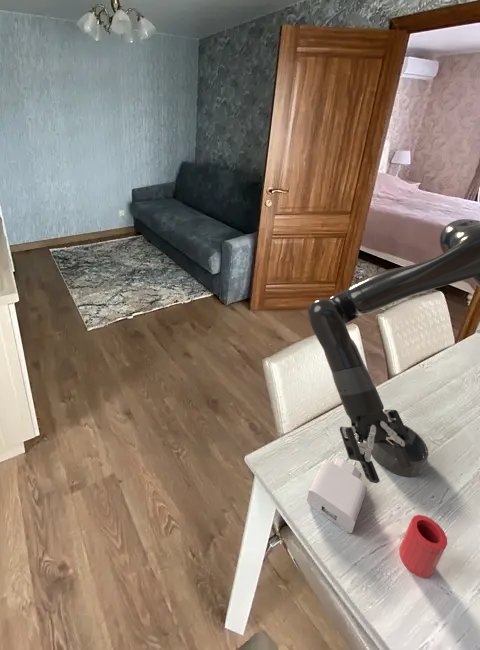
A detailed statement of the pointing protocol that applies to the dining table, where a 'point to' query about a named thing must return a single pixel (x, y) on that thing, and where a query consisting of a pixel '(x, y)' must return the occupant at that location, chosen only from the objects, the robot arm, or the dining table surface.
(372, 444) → the robot arm
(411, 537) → the red cup
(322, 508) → the charger
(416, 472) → the pan
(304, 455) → the dining table surface
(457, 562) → the dining table surface
